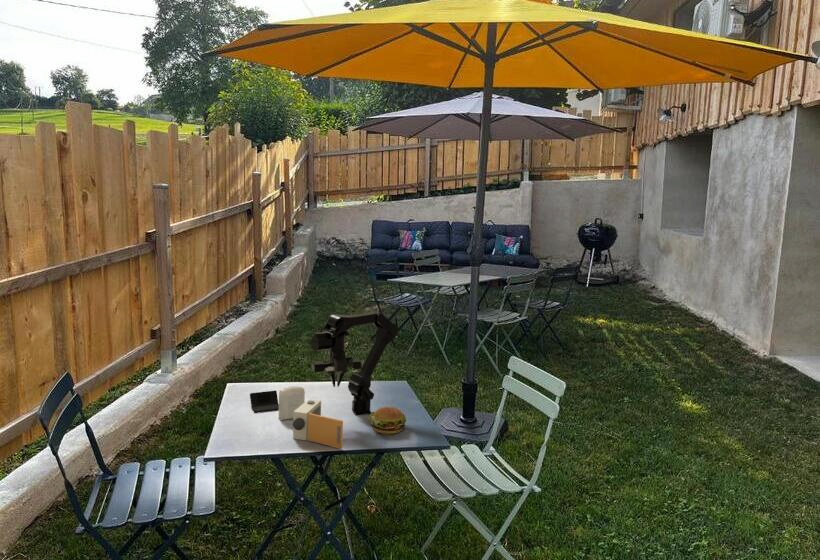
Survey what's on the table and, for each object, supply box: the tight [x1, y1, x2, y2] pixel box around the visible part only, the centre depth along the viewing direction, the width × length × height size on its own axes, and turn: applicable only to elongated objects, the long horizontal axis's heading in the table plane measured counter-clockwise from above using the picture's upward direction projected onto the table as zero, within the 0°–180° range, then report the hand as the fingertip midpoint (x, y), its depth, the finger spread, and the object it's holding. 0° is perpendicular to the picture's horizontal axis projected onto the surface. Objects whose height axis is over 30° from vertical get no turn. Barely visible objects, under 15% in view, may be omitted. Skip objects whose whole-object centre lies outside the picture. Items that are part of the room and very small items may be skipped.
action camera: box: [292, 398, 322, 441], centre depth 226 cm, size 16×5×11 cm, turn 167°
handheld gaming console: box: [249, 390, 279, 414], centre depth 250 cm, size 12×7×10 cm
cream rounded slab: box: [278, 385, 306, 421], centre depth 240 cm, size 10×4×12 cm, turn 123°
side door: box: [306, 413, 344, 449], centre depth 216 cm, size 14×1×10 cm, turn 64°
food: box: [367, 406, 407, 435], centre depth 233 cm, size 14×14×8 cm
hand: (336, 386), depth 240 cm, fingers closed
